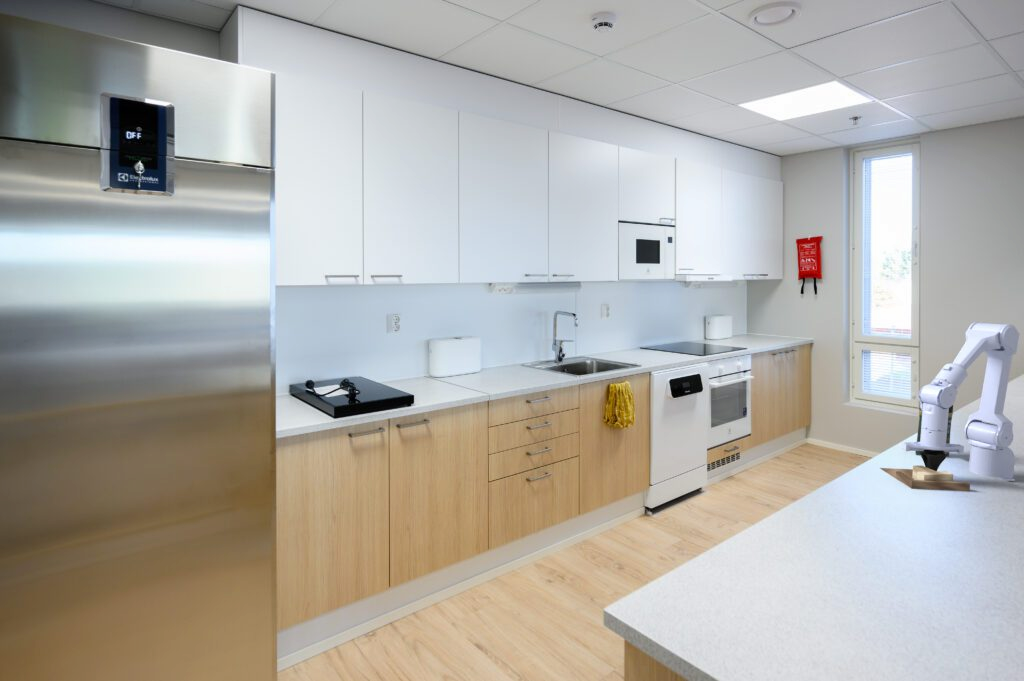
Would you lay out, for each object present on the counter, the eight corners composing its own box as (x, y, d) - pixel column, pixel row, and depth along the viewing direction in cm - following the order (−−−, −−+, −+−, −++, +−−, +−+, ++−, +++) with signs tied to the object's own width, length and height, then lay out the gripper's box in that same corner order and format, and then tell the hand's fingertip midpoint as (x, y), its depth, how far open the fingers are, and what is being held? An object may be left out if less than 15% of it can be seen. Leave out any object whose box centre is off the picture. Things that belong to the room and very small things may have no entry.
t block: (930, 477, 160) (931, 465, 160) (952, 486, 153) (953, 474, 152) (902, 478, 160) (903, 465, 159) (923, 487, 152) (924, 474, 152)
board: (931, 474, 167) (932, 463, 166) (969, 495, 150) (970, 483, 150) (879, 471, 169) (879, 461, 168) (911, 492, 152) (911, 481, 151)
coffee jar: (940, 462, 177) (945, 403, 175) (911, 456, 184) (915, 399, 182) (953, 457, 182) (957, 400, 181) (924, 451, 189) (928, 395, 187)
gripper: (953, 425, 160) (950, 473, 161) (897, 424, 162) (894, 471, 163) (970, 432, 153) (966, 481, 154) (911, 430, 155) (907, 479, 156)
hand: (930, 476), depth 158 cm, fingers closed
